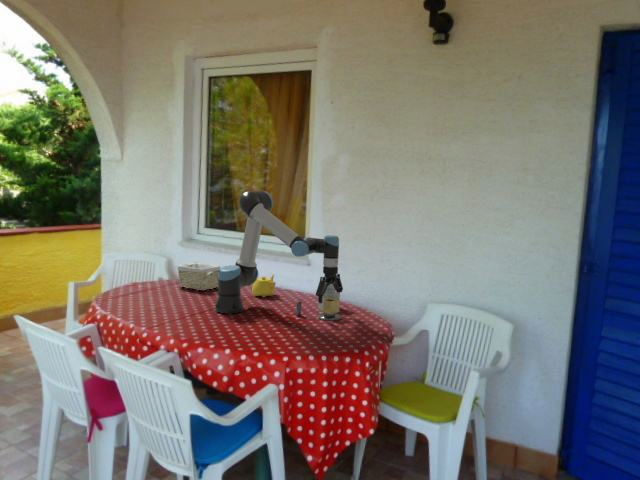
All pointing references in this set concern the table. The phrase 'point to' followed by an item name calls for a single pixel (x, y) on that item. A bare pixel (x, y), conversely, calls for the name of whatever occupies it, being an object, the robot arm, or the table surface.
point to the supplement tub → (329, 292)
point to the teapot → (264, 286)
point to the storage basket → (198, 275)
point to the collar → (331, 306)
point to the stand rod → (298, 308)
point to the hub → (329, 317)
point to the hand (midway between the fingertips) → (329, 306)
